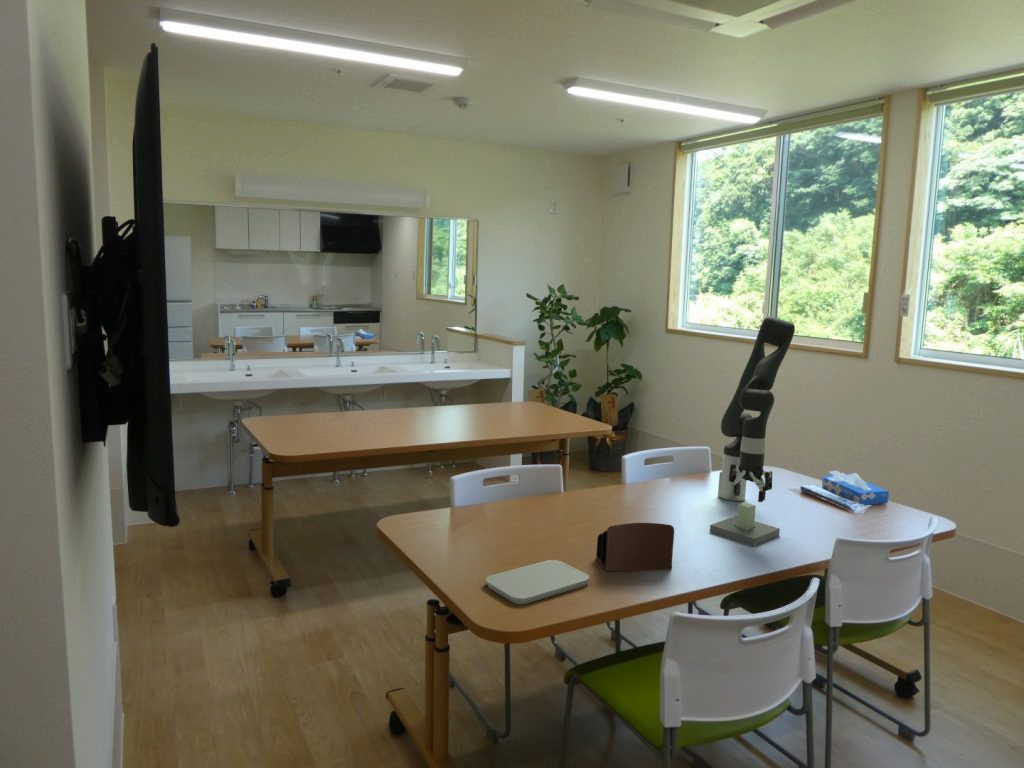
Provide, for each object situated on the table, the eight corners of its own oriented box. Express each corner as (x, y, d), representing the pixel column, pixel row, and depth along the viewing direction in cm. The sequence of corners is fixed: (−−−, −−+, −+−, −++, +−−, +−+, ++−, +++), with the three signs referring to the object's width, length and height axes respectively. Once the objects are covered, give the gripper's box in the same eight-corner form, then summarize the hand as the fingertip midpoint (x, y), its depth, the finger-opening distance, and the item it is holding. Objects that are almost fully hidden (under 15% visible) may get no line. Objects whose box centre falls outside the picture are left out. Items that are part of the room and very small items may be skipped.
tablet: (480, 586, 198) (480, 578, 198) (554, 565, 214) (554, 558, 214) (518, 609, 186) (518, 600, 185) (593, 585, 201) (594, 577, 201)
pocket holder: (709, 532, 246) (710, 524, 246) (736, 522, 257) (736, 515, 257) (753, 546, 235) (754, 538, 234) (779, 535, 245) (779, 528, 245)
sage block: (735, 533, 246) (738, 504, 245) (742, 531, 249) (744, 502, 247) (746, 537, 243) (749, 507, 242) (753, 534, 246) (755, 505, 244)
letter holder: (672, 570, 213) (675, 523, 211) (605, 572, 210) (607, 524, 208) (659, 557, 223) (663, 512, 221) (595, 559, 220) (598, 513, 218)
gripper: (778, 453, 239) (774, 501, 241) (739, 444, 249) (735, 491, 252) (766, 456, 234) (762, 506, 236) (726, 447, 244) (723, 495, 247)
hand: (748, 498), depth 244 cm, fingers open, 8 cm apart
